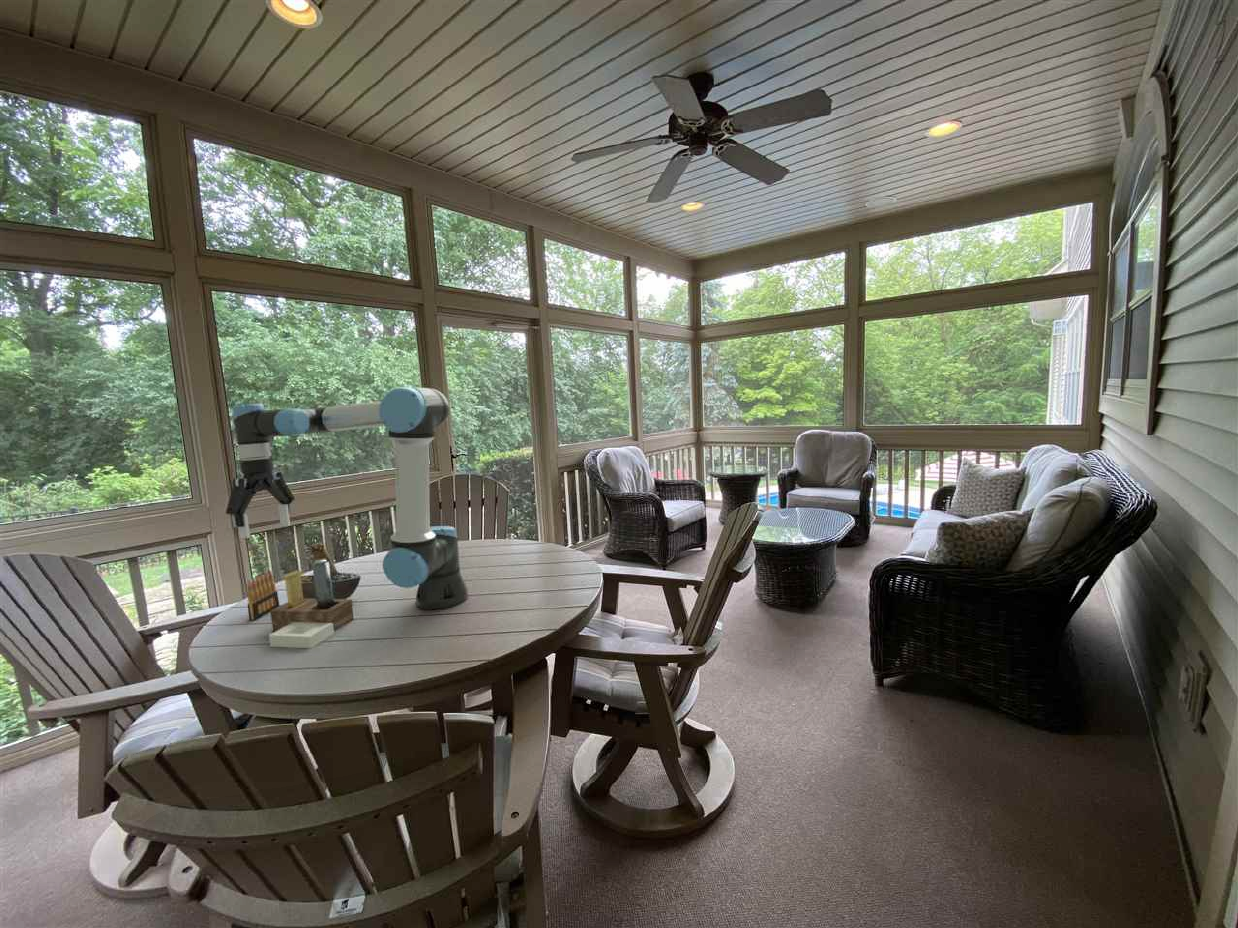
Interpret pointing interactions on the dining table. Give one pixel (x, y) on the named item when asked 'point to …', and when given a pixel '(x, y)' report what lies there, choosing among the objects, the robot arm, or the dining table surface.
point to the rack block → (301, 634)
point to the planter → (341, 582)
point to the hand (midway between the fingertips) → (266, 531)
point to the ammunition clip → (262, 596)
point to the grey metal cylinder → (323, 584)
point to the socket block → (313, 614)
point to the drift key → (294, 588)
